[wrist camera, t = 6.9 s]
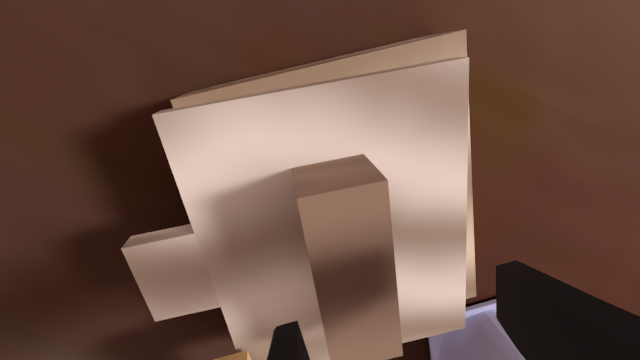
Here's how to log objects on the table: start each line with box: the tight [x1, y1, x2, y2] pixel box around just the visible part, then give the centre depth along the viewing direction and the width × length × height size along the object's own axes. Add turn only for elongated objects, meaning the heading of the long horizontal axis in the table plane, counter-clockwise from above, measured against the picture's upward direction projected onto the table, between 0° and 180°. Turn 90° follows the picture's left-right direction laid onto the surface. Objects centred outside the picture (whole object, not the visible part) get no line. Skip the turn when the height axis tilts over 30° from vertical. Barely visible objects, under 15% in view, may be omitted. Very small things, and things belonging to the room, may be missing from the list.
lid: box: [121, 57, 469, 360], centre depth 14 cm, size 14×15×4 cm
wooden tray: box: [170, 30, 476, 299], centre depth 17 cm, size 14×12×3 cm
